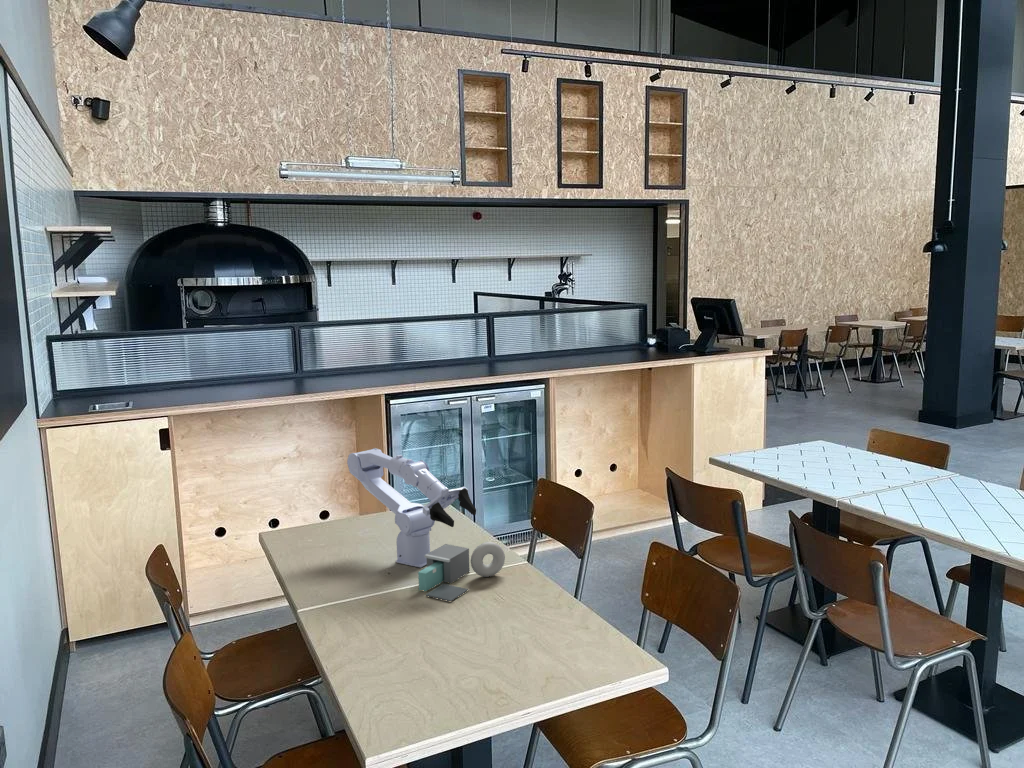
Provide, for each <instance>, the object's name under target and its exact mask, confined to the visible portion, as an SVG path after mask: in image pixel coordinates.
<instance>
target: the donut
mask: <svg viewBox="0 0 1024 768" xmlns="http://www.w3.org/2000/svg"><path fill="white" fill-rule="evenodd" d="M487 555H492V561H491V562H490V563H488V564H486V563H484V561H483V560H484V558H485V557H486V556H487ZM505 562H506V555H505V551H504V549H503V547H502V546H501V545H500V544H498V543H497V542H494V541H485V542H482V543H480V544H479V545H477V546H476V547H475V549H473V552H472V554H471V556H470V566H471V569H472V570H473V572H474V573H476V575H477V576H479V577H483V578H486V577H487V578H489V576H490V577H493V576H495V575H497V574H498V573H500V571H501V570H502V568H503V567H504V566H505V565H504V564H505Z"/></svg>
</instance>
